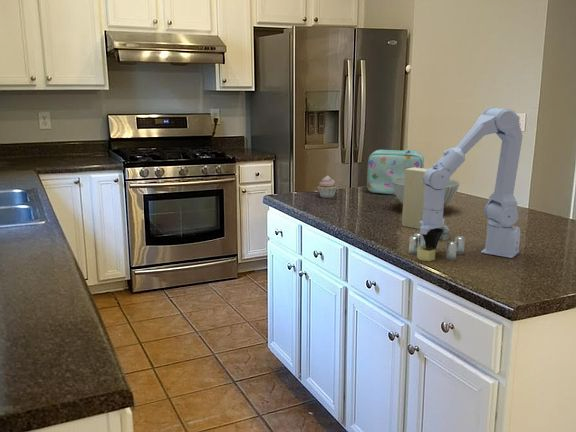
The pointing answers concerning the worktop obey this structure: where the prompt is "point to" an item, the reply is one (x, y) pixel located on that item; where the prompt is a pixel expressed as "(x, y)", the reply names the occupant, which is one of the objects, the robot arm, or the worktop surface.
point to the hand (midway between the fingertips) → (430, 252)
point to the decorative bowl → (448, 194)
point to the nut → (426, 253)
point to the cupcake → (327, 187)
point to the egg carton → (444, 233)
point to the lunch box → (390, 168)
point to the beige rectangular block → (413, 197)
